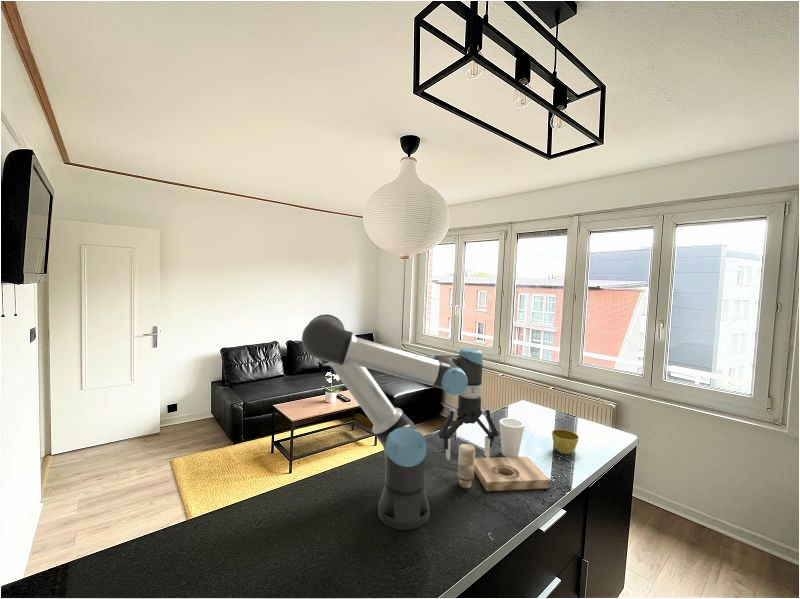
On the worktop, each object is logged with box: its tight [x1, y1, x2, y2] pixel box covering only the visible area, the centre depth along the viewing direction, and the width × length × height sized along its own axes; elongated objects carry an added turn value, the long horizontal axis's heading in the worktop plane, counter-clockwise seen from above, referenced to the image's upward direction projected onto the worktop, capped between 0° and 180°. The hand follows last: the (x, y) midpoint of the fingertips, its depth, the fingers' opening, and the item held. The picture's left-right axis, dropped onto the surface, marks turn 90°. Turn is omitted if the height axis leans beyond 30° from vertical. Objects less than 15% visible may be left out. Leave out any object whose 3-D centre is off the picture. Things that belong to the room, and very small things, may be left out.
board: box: [474, 455, 550, 492], centre depth 131 cm, size 22×16×3 cm
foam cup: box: [498, 417, 525, 457], centre depth 148 cm, size 10×9×13 cm
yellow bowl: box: [551, 428, 580, 455], centre depth 152 cm, size 10×10×7 cm
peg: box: [456, 443, 476, 489], centre depth 125 cm, size 6×6×13 cm
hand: (467, 457), depth 124 cm, fingers open, 13 cm apart
